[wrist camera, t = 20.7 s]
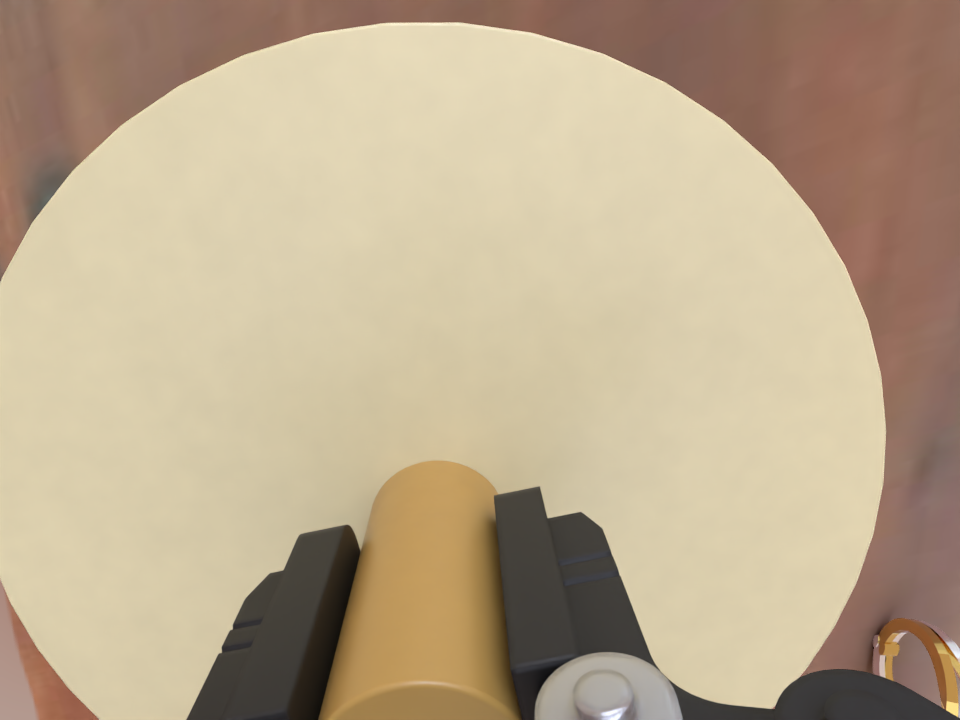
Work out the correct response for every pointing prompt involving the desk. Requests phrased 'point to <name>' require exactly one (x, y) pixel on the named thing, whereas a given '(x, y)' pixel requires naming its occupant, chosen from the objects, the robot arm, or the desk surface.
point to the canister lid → (429, 373)
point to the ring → (938, 647)
